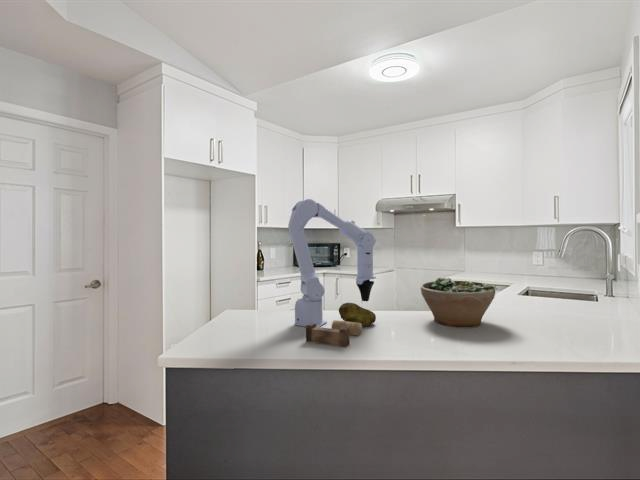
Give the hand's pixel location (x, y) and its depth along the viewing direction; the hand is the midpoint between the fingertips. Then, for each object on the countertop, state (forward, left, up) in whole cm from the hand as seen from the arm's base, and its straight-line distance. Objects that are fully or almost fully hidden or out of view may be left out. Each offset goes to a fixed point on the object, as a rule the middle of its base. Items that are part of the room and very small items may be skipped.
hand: (365, 300), depth 139 cm
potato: (0, -9, -7) cm, 11 cm away
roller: (0, -20, -7) cm, 21 cm away
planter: (+31, +10, -7) cm, 33 cm away
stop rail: (-2, -31, -7) cm, 32 cm away
